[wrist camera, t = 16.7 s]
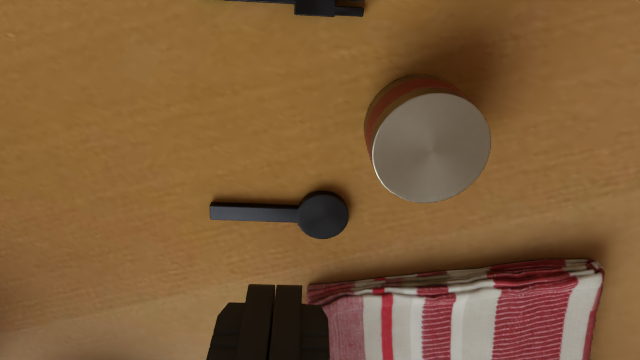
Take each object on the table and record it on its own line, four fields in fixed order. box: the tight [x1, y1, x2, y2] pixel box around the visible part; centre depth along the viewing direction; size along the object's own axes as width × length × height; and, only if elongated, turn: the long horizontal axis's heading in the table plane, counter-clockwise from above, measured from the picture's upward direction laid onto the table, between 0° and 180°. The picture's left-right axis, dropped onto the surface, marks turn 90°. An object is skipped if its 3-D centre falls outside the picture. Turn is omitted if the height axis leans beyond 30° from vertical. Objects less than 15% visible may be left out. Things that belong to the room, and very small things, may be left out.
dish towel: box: [306, 259, 605, 360], centre depth 38 cm, size 17×23×3 cm
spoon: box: [210, 191, 349, 239], centre depth 33 cm, size 10×4×1 cm, turn 87°
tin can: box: [364, 75, 491, 203], centre depth 28 cm, size 7×7×4 cm
